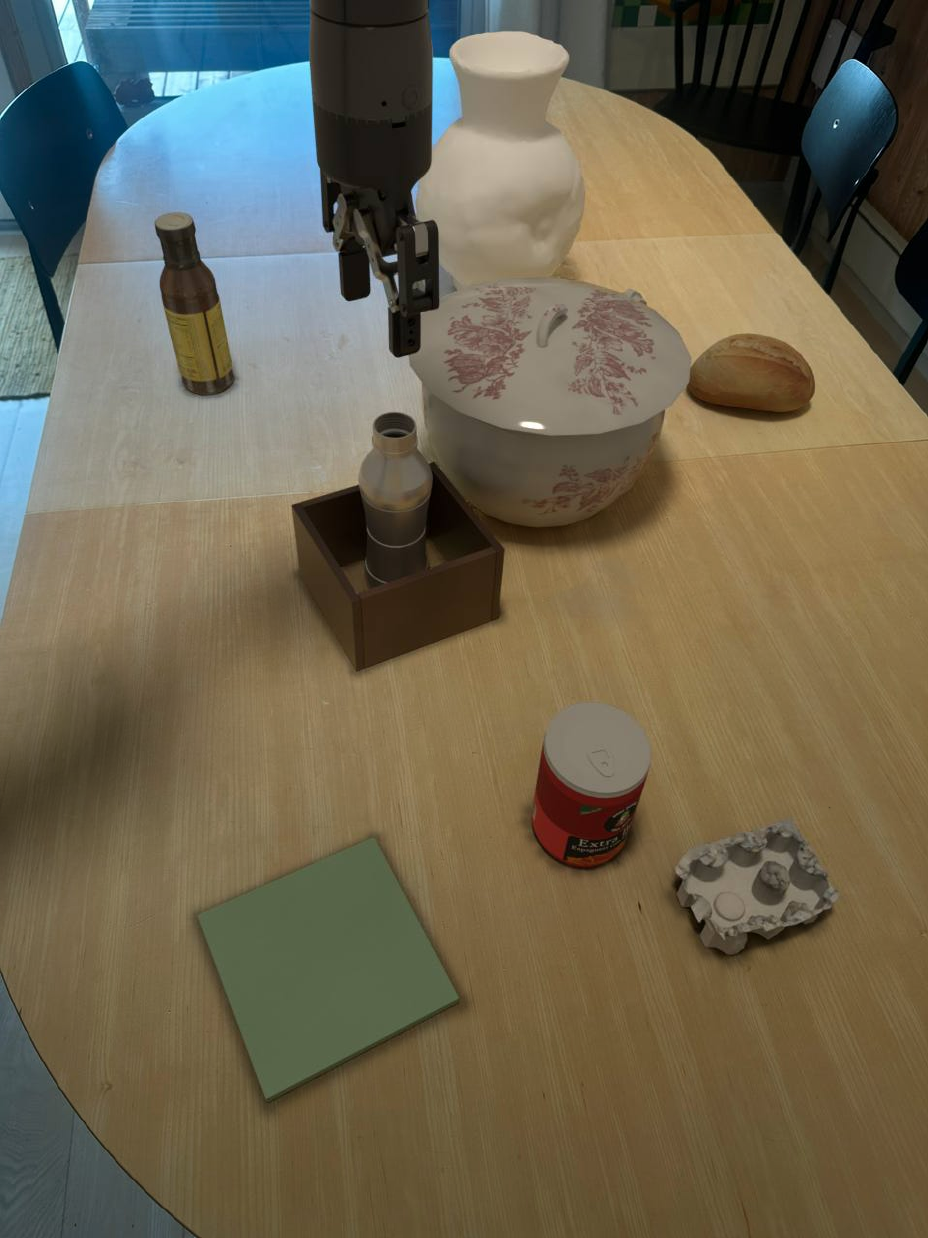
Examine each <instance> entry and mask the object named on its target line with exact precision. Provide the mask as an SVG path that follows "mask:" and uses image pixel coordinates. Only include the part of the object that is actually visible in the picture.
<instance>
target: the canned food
mask: <svg viewBox="0 0 928 1238" xmlns="http://www.w3.org/2000/svg"><path fill="white" fill-rule="evenodd" d="M651 761H652V748H651V743H650V740H649V738H648V735H647V733H646V731H645V729H644V728H643V727H642V725H641V724H640V723H639V722H638V720H636V719H635V718H634V717H633V716H632V715H630V713H628V712H627V711H624V710H623V709H621V708H619V707H617V706H614V705H613V704H612V705H611V704H609V703H604V702H600V701H583V702H577V703H573V704H569V705H568V706H566V707H564V708H562V709H561V710H559V711H557V712H556V714H555V715H554V716H553V717H552V719H551V720H550V722H549V723H548V725H547V727H546V730H545V733H544V736H543V742H542V747H541V753H540V759H539V765H538V770H537V778H536V784H535V789H534V796H533V801H532V808H531V822H532V823H531V824H532V827H533V829H534V833H535V835H536V837H537V839H538V841H539V843H540V844H541V846H542V847H543V848H544V850H545V851H546V852H548V853H549V855H551V856H552V857H554V858H555V859H556V860H558V861H560V862H562V863H564V864H566V865H569V866H574V867H579V868H591V867H595V866H599V865H602V864H605V863H606V862H608V861H610V860H611V859H612V858H614V857H615V856H616V855H617V854H618V853H619V852H620V851H621V850H622V848H623V847H624V845H625V843H626V842H627V838H628V836H629V832H630V829H631V827H632V824H633V820H634V817H635V814H636V811H637V808H638V806H639V803H640V799H641V797H642V794H643V790H644V787H645V784H646V781H647V778H648V774H649V770H650V767H651Z"/></svg>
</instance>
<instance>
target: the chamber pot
mask: <svg viewBox="0 0 928 1238" xmlns="http://www.w3.org/2000/svg"><path fill="white" fill-rule="evenodd" d="M647 303H648V302H647V301H646V300H645V298H643V296H642V294H641V292H639V291H637V290H634V289H632V288H628V289H626V290H625V291H624V292H621V291H618V290H614V289H611V288H607V287H605V286H601V285H598V284H594V283H593V282H592V283H591V282H588V281H581V280H574V279H568V278H559V277H552V276H550V277H508V278H503V279H498V280H493V281H487V282H482V283H477V284H472V285H470V286H467V287H465V288H462V289H460V290H455V291H453V292H450V293H448V294H446V295H443V296H442V297H439V308H438V309H436V310H432V311H431V310H430V311H426V312H422V313H421V347H420V350H419V351H418V352H417V353H415V354H411V355H407V356H408V362H409V368H411V370H412V371H413V372H414V374H415V375H416V377H417V378H418V379H419V381H420V383H421V409H422V417H423V424H424V429H425V433H426V439H427V442H428V446H429V451H430V454H431V457H432V459H433V460H434V462H435V463H436V464H437V465H438V467H439V468H440V469H441V470H442V472H443V473H444V474H445V475H446V477H447V478H448V479H449V480H450V482H451V483H452V484H453V485H454V487H455V488H456V489H457V490H458V492H459V493H460V494H461V495H462V497H463V498H464V499H465V500H466V502H467V503H468V504H470V505H472V506H473V507H474V508H476V509H477V510H478V511H480V512H481V513H483V514H485V515H487V516H490V517H492V518H494V519H497V520H500V521H501V522H504V523H507V524H510V525H516V526H522V527H528V528H529V527H530V528H535V529H537V528H555V527H563V526H566V525H570V524H574V523H577V522H580V521H584V520H588V519H590V518H591V517H593V516H595V515H596V514H597V513H598V514H599V513H600V512H601V511H603V510H605V508H607V507H608V506H610V505H611V504H613V503H614V502H615V501H616V500H617V499H619V498H620V497H622V496H623V495H624V494H625V493H627V492H628V491H629V490H630V489H632V488H633V486H634V485H635V484H636V482H637V480H638V479H639V478H640V477H641V475H642V474H643V472H644V471H645V469H646V468H647V466H648V464H649V462H650V460H651V458H652V456H653V454H654V453H655V450H656V449H657V446H658V444H659V442H660V439H661V435H662V430H663V426H664V422H665V417H666V416H665V415H666V409H668V408H670V407H672V406H673V405H674V404H675V402H676V401H677V399H678V398H679V397H680V396H681V395H682V393H683V392H684V391H685V389H686V388H687V387H688V383H689V379H690V368H691V366H692V355H691V354H690V351H689V350H688V348H687V346H686V343H685V341H684V340H683V338H682V335H681V333H680V332H679V330H677V329H676V328H675V326H674V325H672V324H671V323H670V322H669V321H668V320H666V319H665V317H663V315H661V314H660V313H659V311H657V310H656V309H654V308H653V307H650V306H648V304H647Z"/></svg>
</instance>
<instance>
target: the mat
mask: <svg viewBox="0 0 928 1238" xmlns="http://www.w3.org/2000/svg"><path fill="white" fill-rule="evenodd" d="M196 917H197V919H198V922H199V925H200V927H201V930H202V934H203V935H204V939H205V941H206V944H207V946H208V949H209V951H210V955H211V958H212V960H213V963H214V966H215V968H216V970H217V973H218V976H219V979H220V982H221V983H222V987H223V989H224V990H223V991H224V992H225V995H226V998H227V1000H228V1003H229V1006H230V1008H231V1011H232V1013H233V1016H234V1019H235V1022H236V1025H237V1027H238V1030H239V1033H240V1034H241V1037H242V1040H243V1043H244V1046H245V1049H246V1052H247V1053H248V1056H249V1059H250V1062H251V1065H252V1067H253V1070H254V1073H255V1076H256V1078H257V1080H258V1083H259V1086H260V1089H261V1092H262V1094H263V1097H264V1099H265V1102H266V1103H267V1104H268V1103H269V1102H271V1101H273V1100H276V1099H277V1098H279V1097H281V1096H283V1095H285V1094H286V1093H289V1092H291V1091H292V1090H294V1089H296V1088H298V1087H300V1086H302V1085H305V1084H306V1083H308V1082H310V1081H312V1080H314V1079H315V1078H318V1077H319V1076H321V1075H323V1074H326V1073H327V1072H329V1071H331V1070H333V1069H334V1068H336V1067H338V1066H340V1065H342V1064H344V1063H346V1062H348V1061H350V1060H352V1059H353V1058H357V1056H359V1055H361V1054H363V1053H365V1052H367V1051H369V1050H372V1049H373V1048H374V1047H377V1046H378V1045H381V1044H383V1043H384V1042H386V1041H388V1040H390V1039H391V1038H393V1037H395V1036H398V1035H399V1034H401V1033H404V1032H405V1031H407V1030H409V1029H411V1028H413V1027H415V1026H416V1025H419V1024H420V1023H422V1022H424V1021H426V1020H428V1019H430V1018H432V1017H433V1016H436V1015H437V1014H440V1013H441V1012H443V1011H445V1010H447V1009H449V1008H452V1007H453V1006H455V1005H457V1004H458V1003H459V1002H460V996H459V994H458V993H457V991H456V989H455V987H454V985H453V983H452V981H451V979H450V977H449V976H448V974H447V972H446V970H445V968H444V966H443V964H442V962H441V960H440V959H439V957H438V955H437V953H436V951H435V949H434V946H433V945H432V943H431V942H430V939H429V938H428V936H427V933H426V932H425V930H424V928H423V925H422V924H421V923H420V921H419V919H418V917H417V914H416V913H415V911H414V909H413V908H412V905H411V903H410V901H409V900H408V898H407V895H406V894H405V893H404V890H403V888H402V886H401V884H400V883H399V881H398V879H397V877H396V875H395V874H394V871H393V870H392V868H391V866H390V864H389V862H388V860H387V859H386V857H385V855H384V852H383V851H382V849H381V847H380V845H379V844H378V841H377V839H376V838H375V836H373V837H370V838H368V839H366V840H363V841H361V842H359V843H357V844H354V845H352V846H350V847H347V848H345V849H343V850H340V851H338V852H336V853H334V854H331V855H329V856H327V857H325V858H322V859H320V860H317V861H315V862H313V863H311V864H309V865H307V866H304V867H302V868H299V869H297V870H295V871H292V872H291V873H288V874H286V875H284V876H282V877H279V878H277V879H274V880H273V881H269V882H268V883H266V884H264V885H262V886H261V885H260V886H259V887H257V888H254V889H252V890H249V891H248V892H246V893H243V894H241V895H238V896H236V897H234V898H232V899H230V900H227V901H225V902H223V903H221V904H219V905H216V906H214V907H212V908H209V909H207V910H205V911H203V912H200V913H198V914H197V915H196Z"/></svg>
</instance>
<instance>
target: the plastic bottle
mask: <svg viewBox="0 0 928 1238" xmlns="http://www.w3.org/2000/svg"><path fill="white" fill-rule="evenodd" d="M371 446H372V449H371V450H370V451H369V452H368V453H367V454H366V456H365V457H364V458H363V461H362V462H361V465H360V468H359V472H358V475H357V478H358V479H357V480H358V481H357V482H358V485H359V488H360V492H361V497H362V501H363V505H364V510H365V516H366V525H367V534H368V537H367V553H366V559H364V563H363V570H362V583H363V586H364V589H365V590H368V589H371V588H374V587H377V586H380V585H382V584H385V583H388V582H391V581H394V580H397V579H400V578H403V577H406V576H409V575H412V574H414V573H417V572H420V571H423V570H426V569H429V568H431V564H430V561H429V558H428V553H427V552H428V550H427V539H425V531H426V518H427V509H428V504H429V499H430V494H431V489H432V482H433V475H432V471H431V468H430V466H429V463H430V462H429V461H428V460H427V459H426V457H425V455H424V454H423V453H422V452H421V451H420V449H419V448H418V446H419V439H418V427H417V422H416V420H415V418H414V417H412V416H411V415H409V414H407V413H405V412H400V411H389V412H384V413H382V414H380V415H378V416H377V417H376V418H375V419H374V420H373V423H372V437H371ZM365 590H364V591H365Z"/></svg>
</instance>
